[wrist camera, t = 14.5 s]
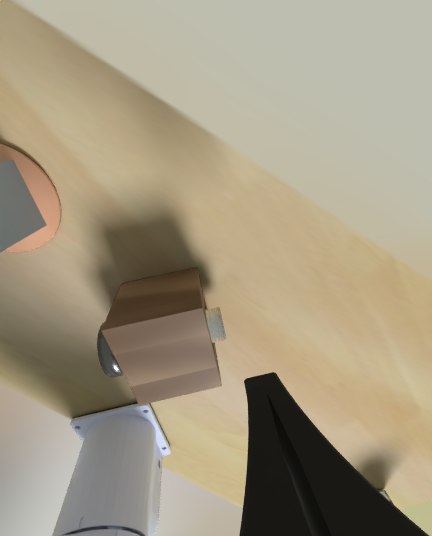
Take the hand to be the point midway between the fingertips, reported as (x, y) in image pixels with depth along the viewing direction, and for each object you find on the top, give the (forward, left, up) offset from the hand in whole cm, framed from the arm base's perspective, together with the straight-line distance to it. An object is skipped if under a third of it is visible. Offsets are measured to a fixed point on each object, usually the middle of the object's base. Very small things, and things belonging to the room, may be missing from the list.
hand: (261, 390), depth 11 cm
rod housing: (-2, +5, -10) cm, 12 cm away
